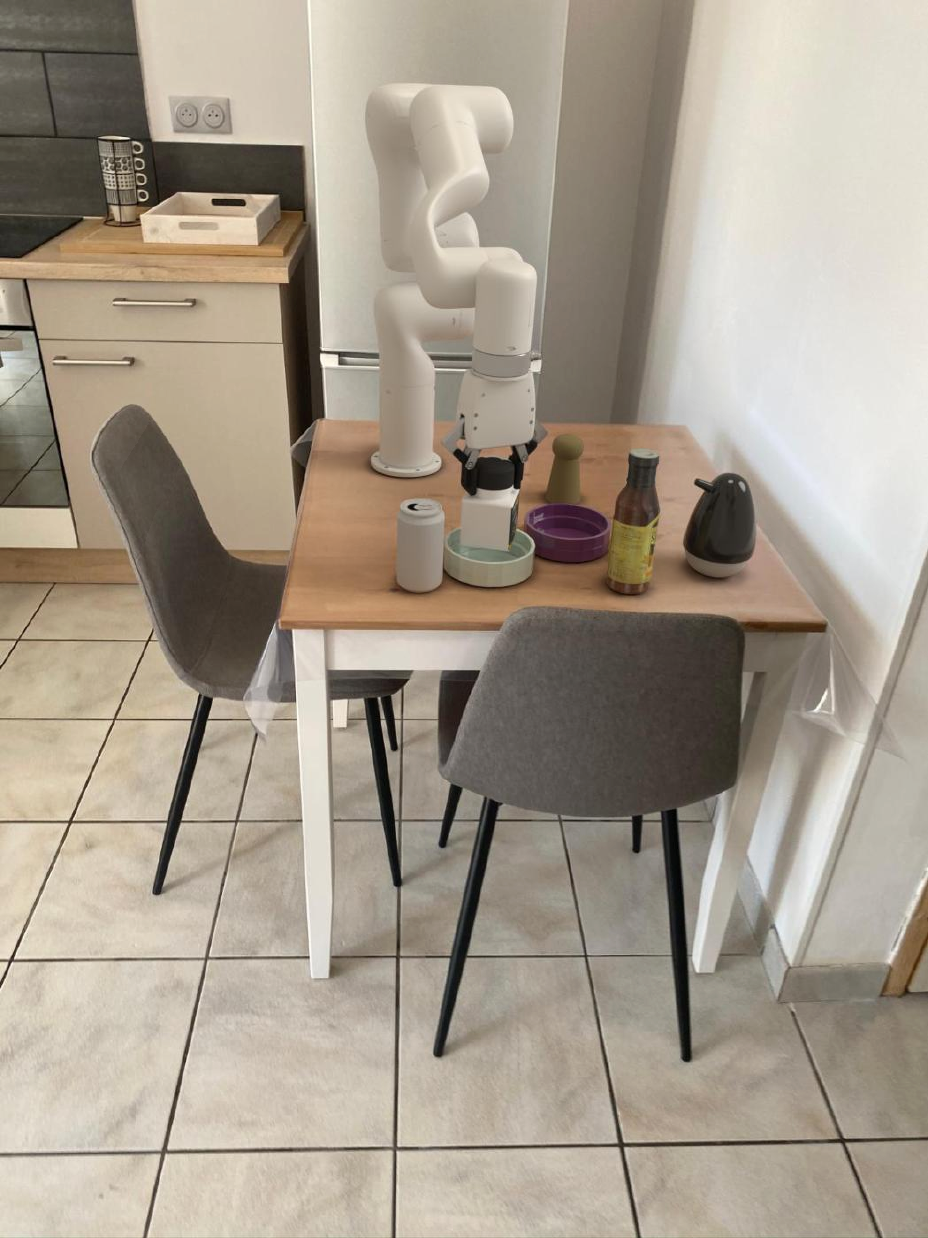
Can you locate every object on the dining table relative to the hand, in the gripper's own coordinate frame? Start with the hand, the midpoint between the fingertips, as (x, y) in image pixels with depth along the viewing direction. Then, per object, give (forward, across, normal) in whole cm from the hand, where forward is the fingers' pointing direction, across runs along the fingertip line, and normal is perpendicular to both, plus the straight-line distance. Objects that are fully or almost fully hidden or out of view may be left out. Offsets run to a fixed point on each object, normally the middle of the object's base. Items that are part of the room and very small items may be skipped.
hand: (491, 487), depth 134 cm
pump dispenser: (+12, -32, +12) cm, 36 cm away
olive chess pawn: (+13, -22, -18) cm, 31 cm away
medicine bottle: (+8, 0, 0) cm, 8 cm away
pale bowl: (+12, 0, +1) cm, 12 cm away
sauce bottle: (+12, -16, +12) cm, 24 cm away
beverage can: (+12, +11, +2) cm, 17 cm away
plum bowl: (+12, -14, -2) cm, 19 cm away
